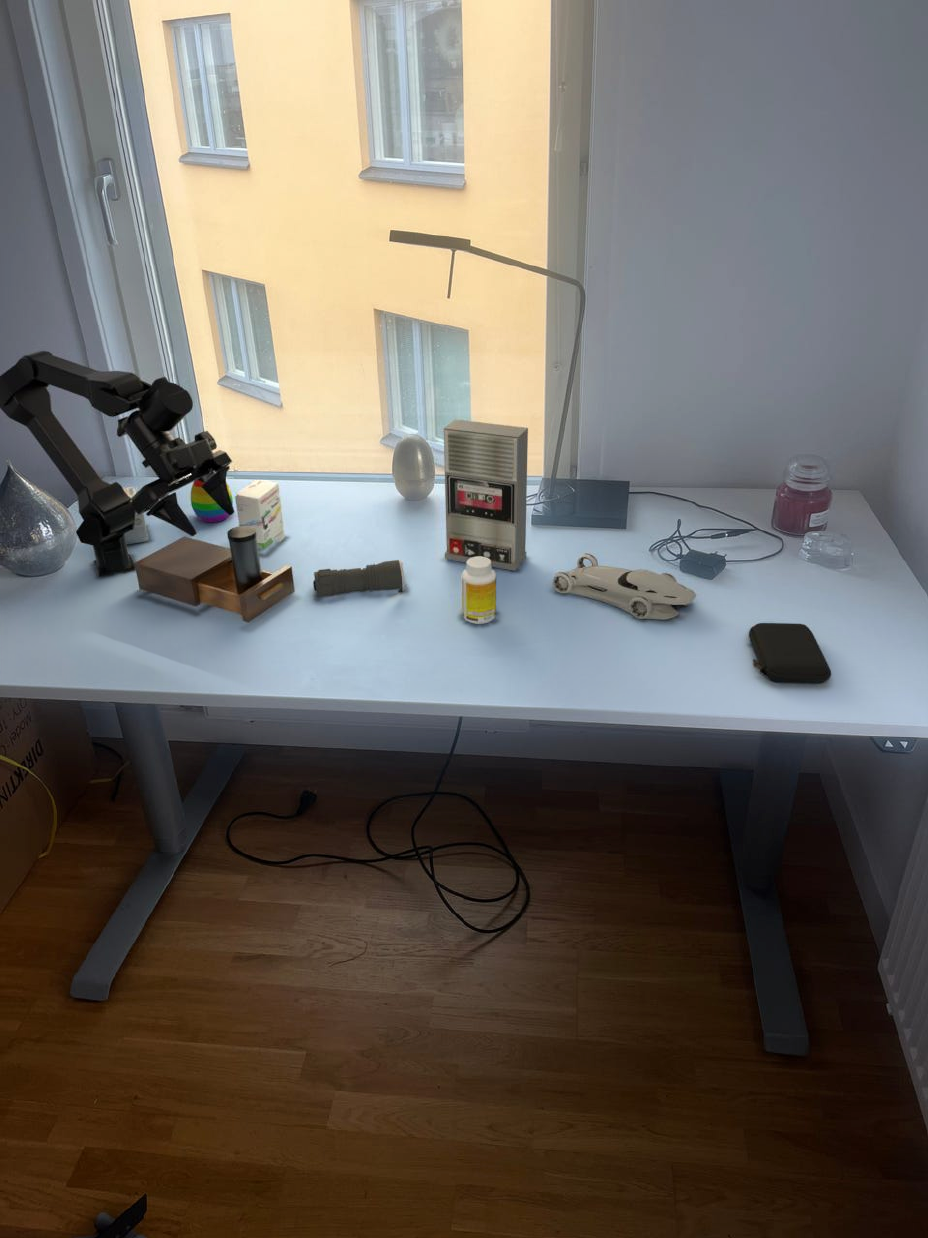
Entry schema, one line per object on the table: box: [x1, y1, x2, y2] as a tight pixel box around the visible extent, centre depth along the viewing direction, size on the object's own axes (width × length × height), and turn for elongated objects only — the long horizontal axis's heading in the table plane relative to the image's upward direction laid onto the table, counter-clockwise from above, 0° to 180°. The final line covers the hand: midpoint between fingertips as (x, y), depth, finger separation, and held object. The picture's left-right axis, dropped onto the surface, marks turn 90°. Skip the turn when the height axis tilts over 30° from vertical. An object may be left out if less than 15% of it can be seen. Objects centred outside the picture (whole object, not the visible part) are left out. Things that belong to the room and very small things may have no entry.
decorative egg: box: [190, 480, 234, 523], centre depth 188 cm, size 8×8×10 cm
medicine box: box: [122, 486, 149, 545], centre depth 182 cm, size 8×4×9 cm, turn 23°
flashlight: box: [312, 559, 406, 598], centre depth 160 cm, size 15×5×5 cm, turn 102°
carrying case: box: [748, 622, 832, 685], centre depth 141 cm, size 11×3×15 cm
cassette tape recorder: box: [443, 419, 529, 572], centre depth 166 cm, size 14×6×25 cm, turn 68°
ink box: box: [234, 479, 286, 550], centre depth 176 cm, size 8×5×12 cm, turn 163°
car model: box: [552, 552, 697, 621], centre depth 158 cm, size 11×24×5 cm, turn 55°
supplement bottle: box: [461, 556, 497, 625], centre depth 152 cm, size 6×6×10 cm
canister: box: [226, 525, 262, 595], centre depth 154 cm, size 5×5×13 cm
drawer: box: [196, 561, 296, 623], centre depth 157 cm, size 14×12×6 cm
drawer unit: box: [133, 536, 232, 607], centre depth 162 cm, size 13×12×6 cm
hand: (213, 524), depth 154 cm, fingers open, 9 cm apart
